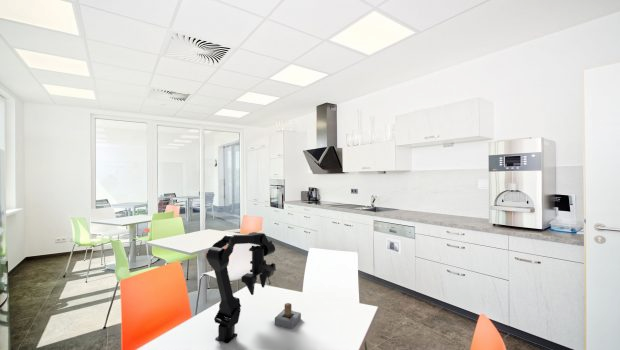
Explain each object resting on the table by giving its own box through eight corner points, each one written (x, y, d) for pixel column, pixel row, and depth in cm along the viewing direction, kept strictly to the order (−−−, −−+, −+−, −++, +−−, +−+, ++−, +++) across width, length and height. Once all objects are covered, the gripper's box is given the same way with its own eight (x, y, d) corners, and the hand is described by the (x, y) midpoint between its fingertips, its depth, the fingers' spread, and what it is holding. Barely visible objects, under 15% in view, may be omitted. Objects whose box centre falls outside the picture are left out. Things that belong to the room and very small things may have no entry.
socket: (292, 329, 121) (292, 322, 121) (274, 324, 124) (274, 318, 124) (300, 319, 129) (300, 312, 129) (284, 315, 133) (284, 309, 133)
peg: (289, 324, 125) (289, 306, 125) (283, 322, 126) (283, 305, 126) (292, 321, 128) (292, 303, 128) (286, 319, 129) (286, 302, 129)
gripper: (261, 266, 120) (261, 302, 120) (281, 255, 138) (281, 286, 138) (240, 263, 125) (240, 297, 125) (263, 252, 142) (262, 283, 142)
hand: (257, 290), depth 132 cm, fingers open, 9 cm apart
